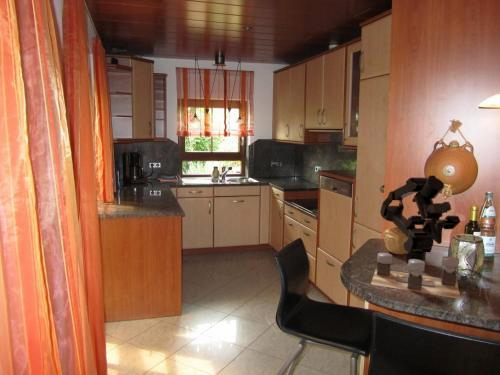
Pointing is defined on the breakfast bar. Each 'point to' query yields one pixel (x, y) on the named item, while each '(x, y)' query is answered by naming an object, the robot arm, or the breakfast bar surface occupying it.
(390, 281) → the button panel
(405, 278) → the pattern card
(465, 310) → the breakfast bar surface
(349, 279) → the breakfast bar surface
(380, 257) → the button
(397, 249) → the sculpture
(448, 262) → the button
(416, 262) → the far button
